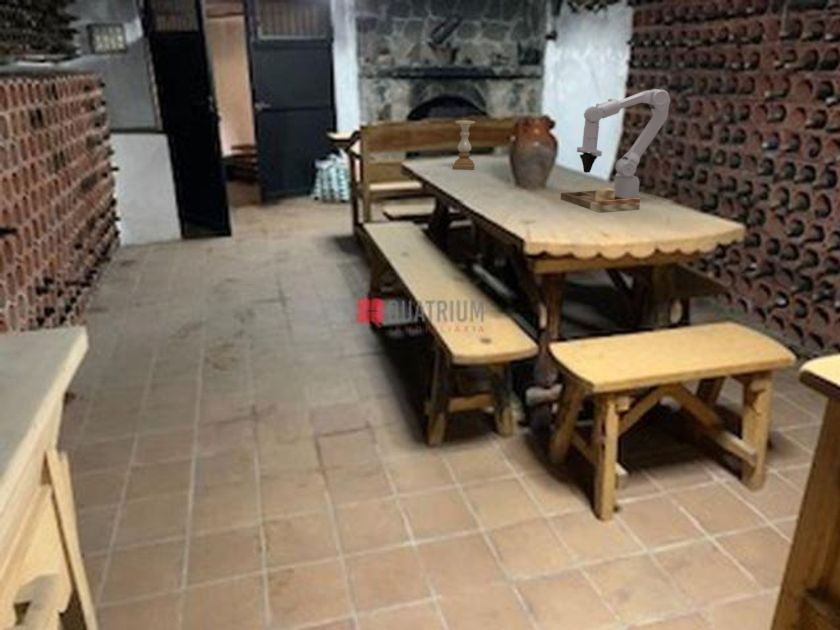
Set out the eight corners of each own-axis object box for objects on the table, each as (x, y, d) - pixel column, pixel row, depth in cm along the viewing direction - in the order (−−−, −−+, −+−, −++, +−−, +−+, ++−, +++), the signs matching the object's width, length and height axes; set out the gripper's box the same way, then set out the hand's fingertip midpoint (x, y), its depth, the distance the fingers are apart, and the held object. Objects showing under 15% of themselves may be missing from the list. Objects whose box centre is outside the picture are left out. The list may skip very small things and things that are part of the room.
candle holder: (454, 166, 350) (455, 120, 342) (474, 166, 349) (476, 120, 340) (453, 169, 340) (454, 121, 331) (474, 169, 339) (475, 122, 330)
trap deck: (597, 196, 273) (598, 186, 271) (639, 209, 249) (640, 198, 248) (560, 199, 267) (561, 189, 265) (599, 212, 243) (600, 201, 242)
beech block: (605, 200, 251) (607, 187, 249) (613, 203, 246) (615, 190, 245) (594, 201, 249) (596, 188, 247) (602, 204, 245) (604, 190, 243)
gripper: (571, 136, 266) (568, 170, 271) (592, 140, 253) (588, 175, 258) (586, 135, 268) (583, 169, 273) (607, 139, 256) (603, 174, 261)
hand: (586, 172), depth 266 cm, fingers closed
